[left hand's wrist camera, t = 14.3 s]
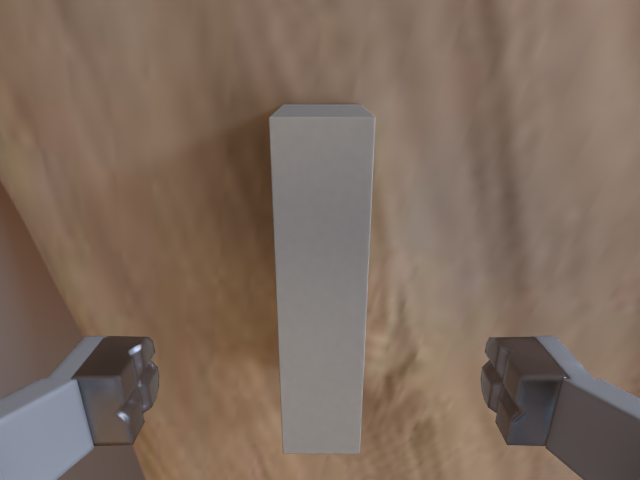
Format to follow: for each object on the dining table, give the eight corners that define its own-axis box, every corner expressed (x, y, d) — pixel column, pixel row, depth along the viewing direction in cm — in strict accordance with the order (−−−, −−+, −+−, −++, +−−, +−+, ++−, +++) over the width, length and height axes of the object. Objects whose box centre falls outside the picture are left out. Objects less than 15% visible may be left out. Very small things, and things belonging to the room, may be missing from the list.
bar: (282, 104, 31) (268, 116, 22) (360, 104, 31) (375, 116, 22) (290, 372, 39) (282, 453, 31) (351, 372, 39) (359, 454, 31)
